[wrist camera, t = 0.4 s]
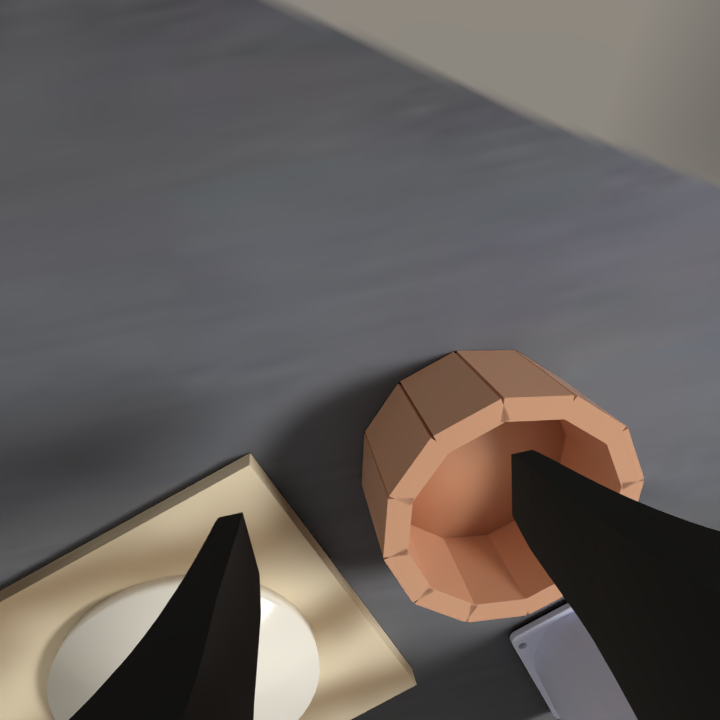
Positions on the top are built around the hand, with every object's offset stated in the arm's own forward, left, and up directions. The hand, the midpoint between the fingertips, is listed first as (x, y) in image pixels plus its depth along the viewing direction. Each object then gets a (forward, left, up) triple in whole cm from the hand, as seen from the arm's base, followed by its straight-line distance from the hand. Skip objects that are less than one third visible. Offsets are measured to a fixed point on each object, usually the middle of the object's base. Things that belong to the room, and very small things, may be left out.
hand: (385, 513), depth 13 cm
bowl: (-7, -4, -10) cm, 13 cm away
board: (-10, +14, -10) cm, 20 cm away
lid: (-10, +14, -9) cm, 20 cm away
